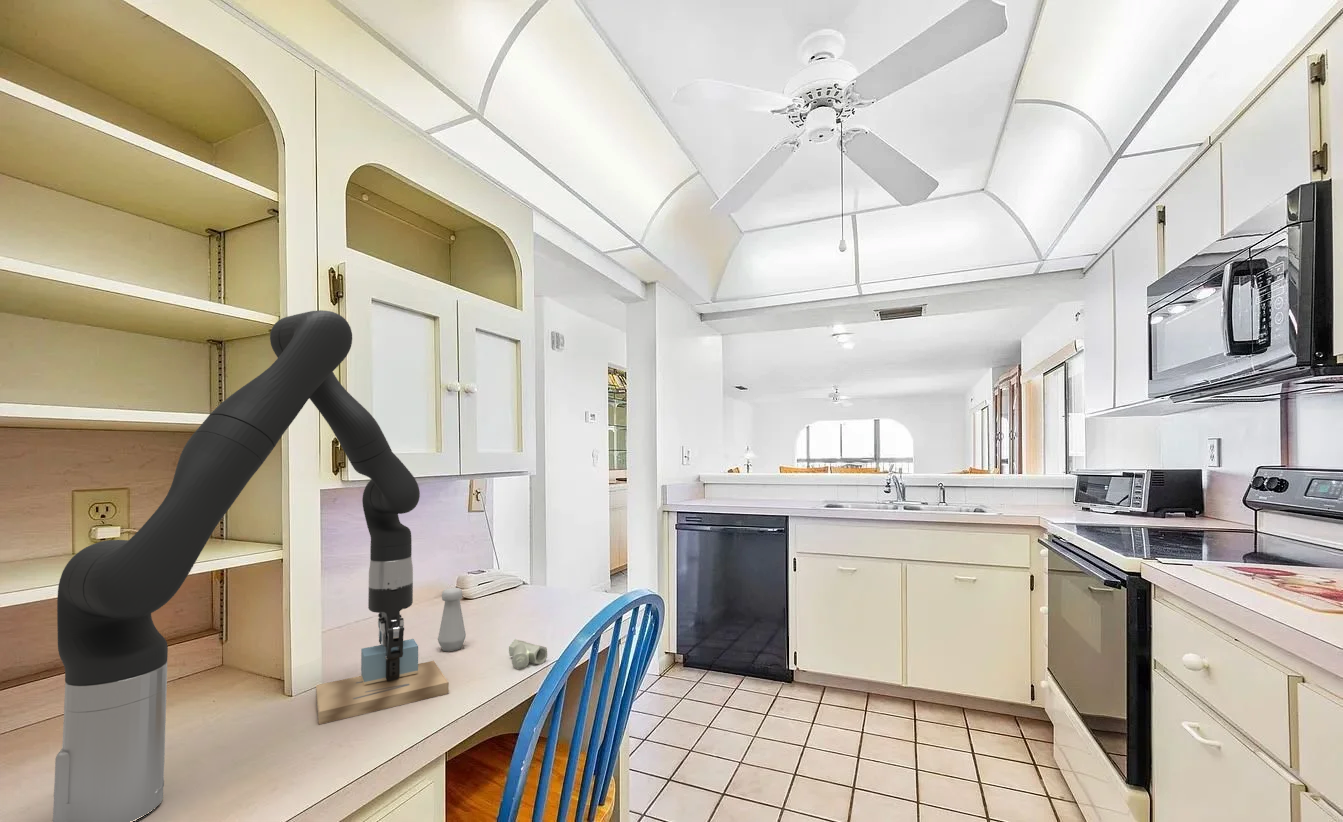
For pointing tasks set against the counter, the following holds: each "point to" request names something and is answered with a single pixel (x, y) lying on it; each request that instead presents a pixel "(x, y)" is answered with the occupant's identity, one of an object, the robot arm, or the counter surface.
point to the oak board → (377, 693)
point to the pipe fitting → (526, 653)
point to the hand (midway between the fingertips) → (390, 674)
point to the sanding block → (376, 662)
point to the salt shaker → (452, 621)
